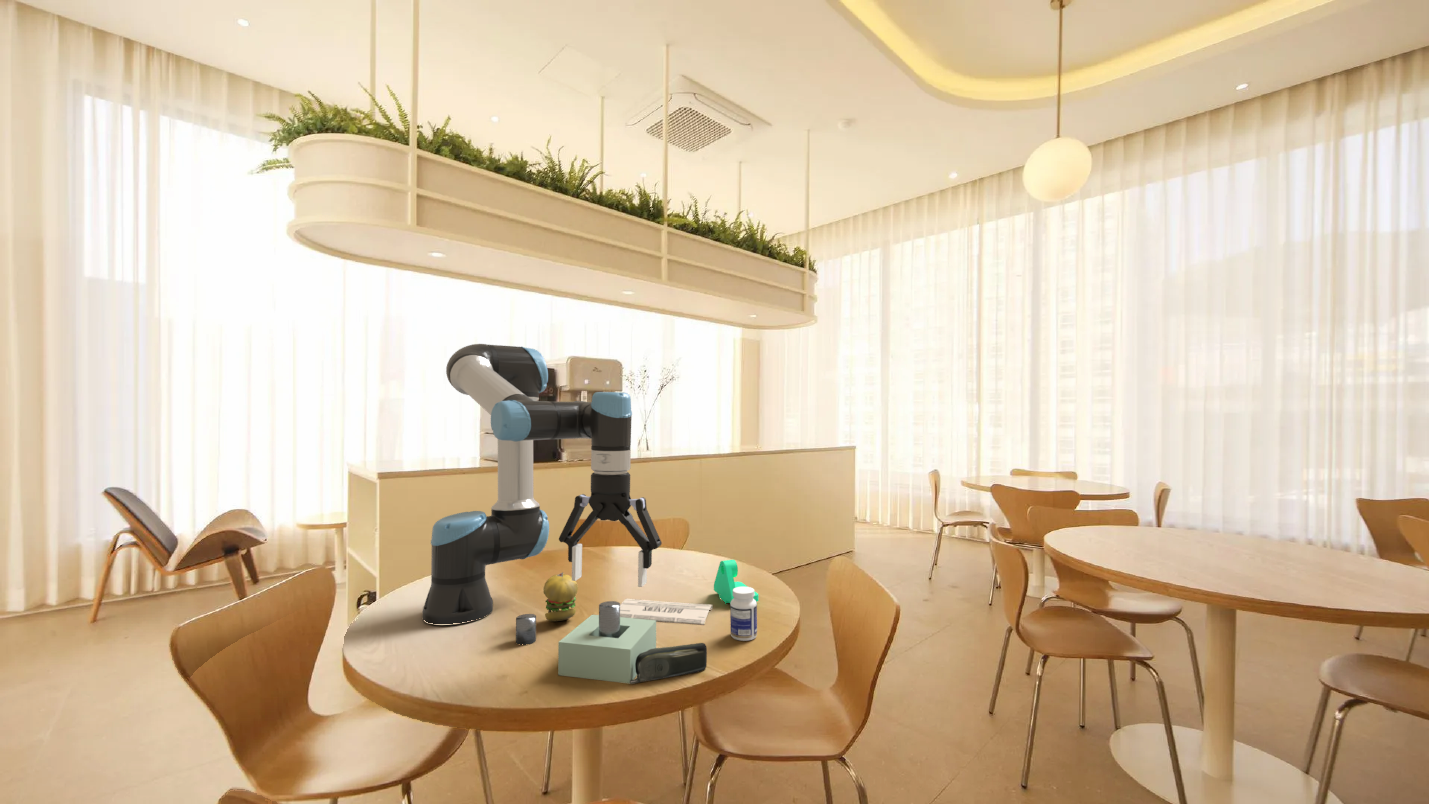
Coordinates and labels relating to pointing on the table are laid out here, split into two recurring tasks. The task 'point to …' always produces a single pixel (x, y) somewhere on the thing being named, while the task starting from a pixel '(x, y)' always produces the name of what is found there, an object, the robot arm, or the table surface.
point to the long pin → (609, 619)
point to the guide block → (605, 650)
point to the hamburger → (560, 597)
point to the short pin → (526, 629)
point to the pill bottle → (743, 614)
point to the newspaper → (665, 611)
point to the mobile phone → (670, 662)
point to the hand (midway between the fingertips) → (609, 581)
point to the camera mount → (728, 581)
